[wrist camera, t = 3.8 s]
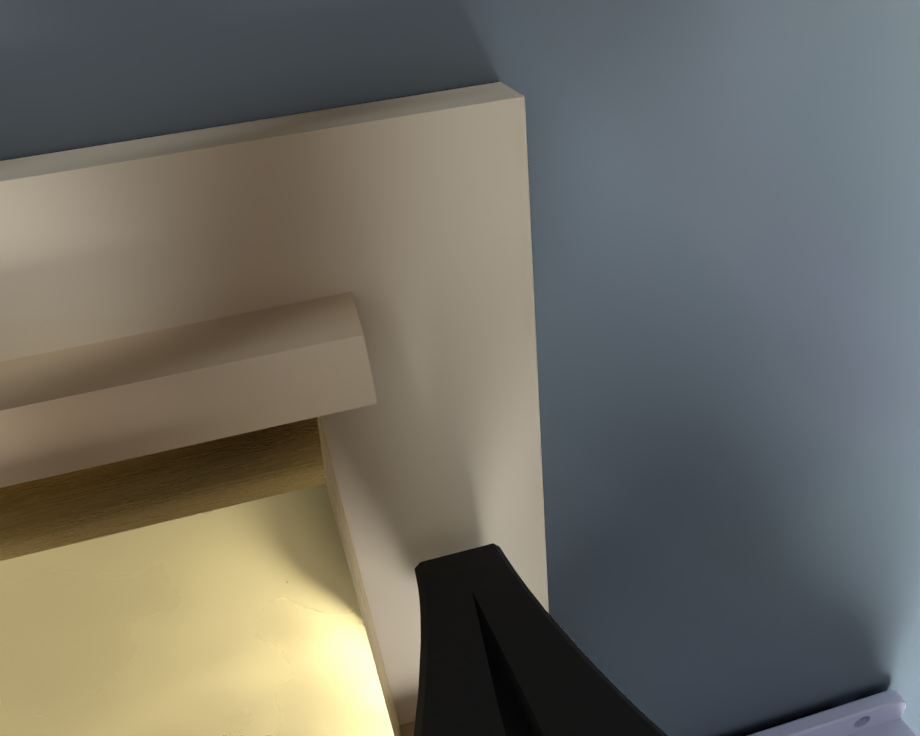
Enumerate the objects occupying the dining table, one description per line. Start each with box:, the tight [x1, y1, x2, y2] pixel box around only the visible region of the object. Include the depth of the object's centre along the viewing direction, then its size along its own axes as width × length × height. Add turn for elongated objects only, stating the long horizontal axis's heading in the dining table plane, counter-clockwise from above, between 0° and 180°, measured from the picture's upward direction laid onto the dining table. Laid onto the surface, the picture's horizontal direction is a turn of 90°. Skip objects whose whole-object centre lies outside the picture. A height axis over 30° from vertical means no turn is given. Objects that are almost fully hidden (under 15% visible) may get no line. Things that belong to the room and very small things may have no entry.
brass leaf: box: [0, 416, 401, 736], centre depth 11 cm, size 7×8×2 cm
